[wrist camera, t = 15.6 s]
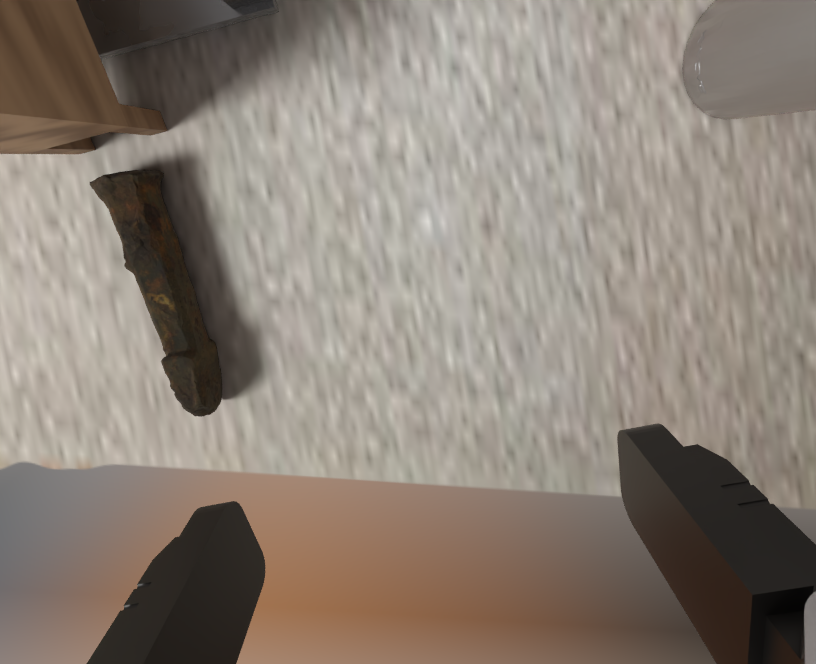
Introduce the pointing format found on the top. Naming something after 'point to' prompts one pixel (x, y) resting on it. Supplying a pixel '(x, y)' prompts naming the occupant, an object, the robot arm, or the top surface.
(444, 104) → the top surface
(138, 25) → the grey l-shaped bracket
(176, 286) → the hand tool
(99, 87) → the walnut cabinet
